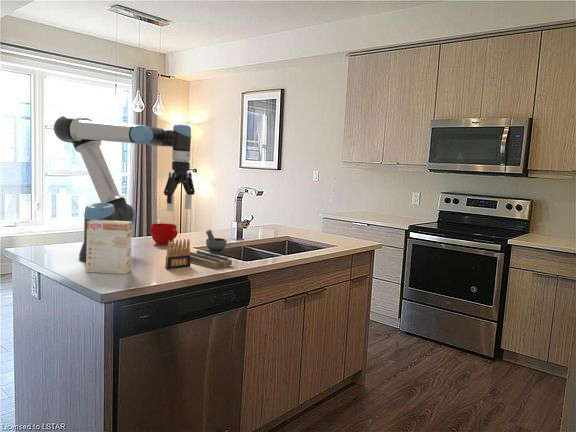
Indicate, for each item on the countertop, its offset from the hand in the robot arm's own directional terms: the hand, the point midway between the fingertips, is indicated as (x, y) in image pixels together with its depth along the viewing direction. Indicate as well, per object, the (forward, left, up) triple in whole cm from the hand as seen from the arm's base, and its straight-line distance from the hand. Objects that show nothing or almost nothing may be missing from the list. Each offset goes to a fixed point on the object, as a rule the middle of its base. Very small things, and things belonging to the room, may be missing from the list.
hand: (179, 210), depth 202 cm
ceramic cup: (+19, +34, -23) cm, 45 cm away
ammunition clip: (-8, -11, -23) cm, 26 cm away
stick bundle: (+8, -11, -22) cm, 26 cm away
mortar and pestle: (+25, +3, -23) cm, 34 cm away
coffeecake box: (-33, -1, -23) cm, 40 cm away
